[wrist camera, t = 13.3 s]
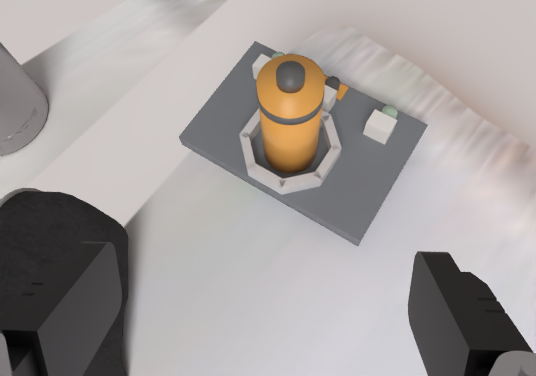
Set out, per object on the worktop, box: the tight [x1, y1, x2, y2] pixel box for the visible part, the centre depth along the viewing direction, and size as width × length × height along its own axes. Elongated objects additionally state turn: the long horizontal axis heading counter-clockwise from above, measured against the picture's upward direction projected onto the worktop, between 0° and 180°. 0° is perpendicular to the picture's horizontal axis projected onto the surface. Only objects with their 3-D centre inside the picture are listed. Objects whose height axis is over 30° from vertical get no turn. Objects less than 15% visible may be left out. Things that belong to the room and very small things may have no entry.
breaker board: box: [179, 41, 427, 246], centre depth 41 cm, size 19×13×4 cm
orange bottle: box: [256, 54, 325, 174], centre depth 35 cm, size 5×5×11 cm
